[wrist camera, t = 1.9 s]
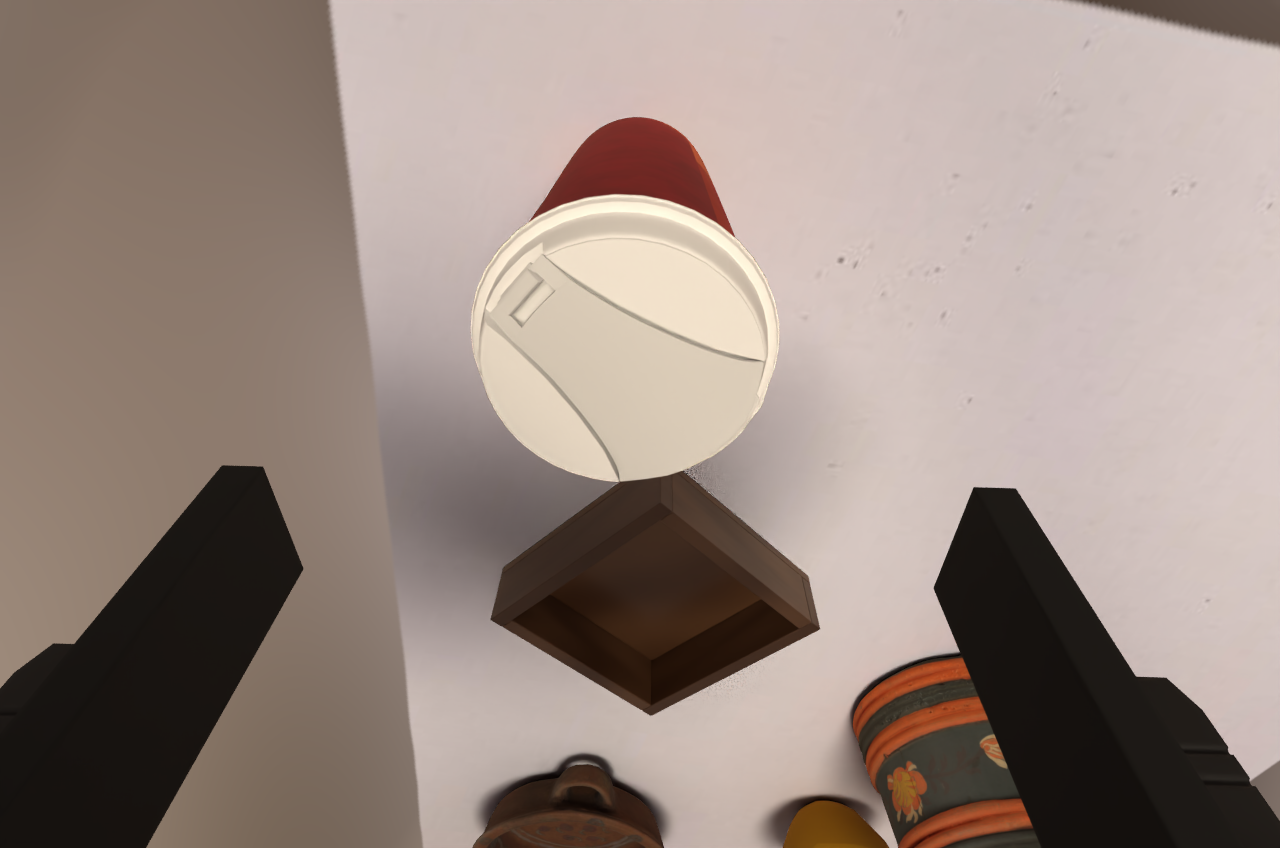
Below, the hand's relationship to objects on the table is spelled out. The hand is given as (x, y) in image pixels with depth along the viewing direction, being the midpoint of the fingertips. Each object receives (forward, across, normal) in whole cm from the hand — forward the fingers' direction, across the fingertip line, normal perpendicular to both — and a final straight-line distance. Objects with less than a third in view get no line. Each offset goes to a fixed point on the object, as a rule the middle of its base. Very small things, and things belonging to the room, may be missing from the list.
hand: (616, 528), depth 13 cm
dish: (+21, -5, -56) cm, 60 cm away
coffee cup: (+20, 0, 0) cm, 20 cm away
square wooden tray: (+20, +1, -24) cm, 31 cm away
